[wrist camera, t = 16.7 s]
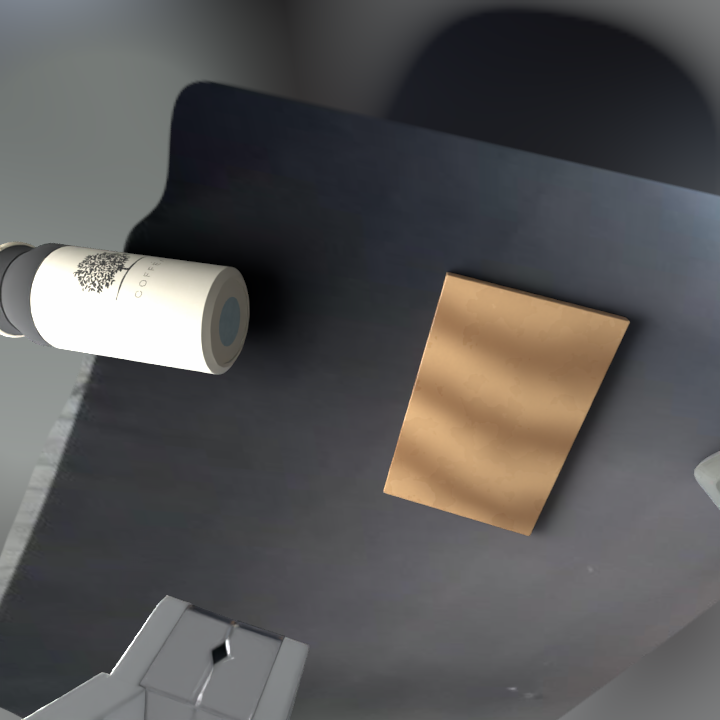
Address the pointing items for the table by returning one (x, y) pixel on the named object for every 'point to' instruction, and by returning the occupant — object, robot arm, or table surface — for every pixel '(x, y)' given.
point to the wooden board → (499, 401)
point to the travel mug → (124, 305)
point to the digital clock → (710, 477)
